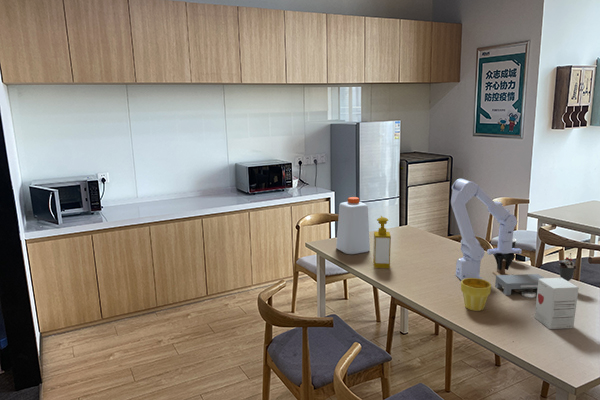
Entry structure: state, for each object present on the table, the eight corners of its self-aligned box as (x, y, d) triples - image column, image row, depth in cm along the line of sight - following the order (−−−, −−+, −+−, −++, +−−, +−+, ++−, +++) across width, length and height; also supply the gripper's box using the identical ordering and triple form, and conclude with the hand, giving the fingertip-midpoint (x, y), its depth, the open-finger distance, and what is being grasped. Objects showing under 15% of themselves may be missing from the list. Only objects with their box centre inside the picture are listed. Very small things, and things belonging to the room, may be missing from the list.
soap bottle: (387, 259, 223) (388, 212, 218) (389, 268, 211) (391, 219, 206) (372, 258, 224) (373, 212, 219) (374, 267, 211) (375, 219, 206)
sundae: (571, 286, 187) (575, 252, 184) (575, 293, 181) (580, 257, 178) (553, 284, 189) (557, 250, 186) (557, 291, 183) (561, 255, 180)
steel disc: (525, 298, 177) (525, 295, 176) (519, 293, 182) (519, 290, 181) (538, 298, 177) (538, 295, 177) (531, 293, 182) (531, 290, 181)
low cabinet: (506, 296, 179) (507, 284, 178) (495, 286, 188) (496, 275, 187) (550, 294, 180) (551, 282, 179) (537, 285, 189) (538, 274, 188)
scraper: (518, 293, 181) (519, 277, 180) (492, 273, 203) (493, 258, 202) (532, 292, 182) (534, 276, 180) (505, 272, 203) (506, 258, 202)
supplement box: (533, 317, 161) (537, 277, 158) (557, 316, 161) (561, 276, 158) (549, 329, 152) (553, 288, 149) (574, 328, 153) (579, 286, 149)
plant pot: (471, 315, 163) (473, 289, 161) (453, 303, 173) (455, 279, 171) (495, 311, 166) (497, 286, 164) (477, 299, 176) (478, 276, 174)
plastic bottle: (333, 247, 242) (333, 196, 236) (357, 244, 248) (358, 194, 242) (347, 256, 228) (348, 202, 223) (372, 251, 234) (374, 199, 229)
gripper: (516, 236, 201) (514, 265, 204) (484, 237, 200) (482, 266, 203) (525, 241, 194) (522, 271, 197) (492, 242, 193) (490, 272, 196)
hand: (502, 269), depth 200 cm, fingers closed on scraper, 2 cm apart
